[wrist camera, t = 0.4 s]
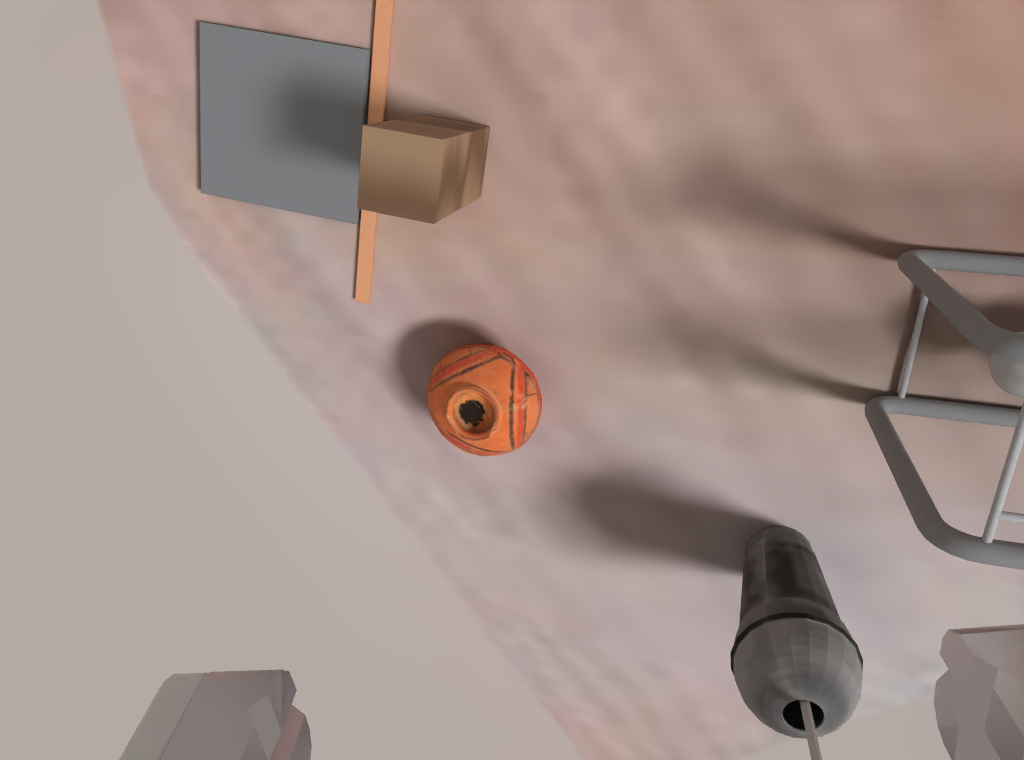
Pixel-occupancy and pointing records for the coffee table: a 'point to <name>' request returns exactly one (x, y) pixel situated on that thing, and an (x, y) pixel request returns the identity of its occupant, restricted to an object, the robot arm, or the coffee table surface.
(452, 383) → the pot
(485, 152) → the wooden square post
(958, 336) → the coffee table surface
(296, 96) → the mat
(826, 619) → the beverage cup
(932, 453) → the coffee table surface
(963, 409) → the newton's cradle
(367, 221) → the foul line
